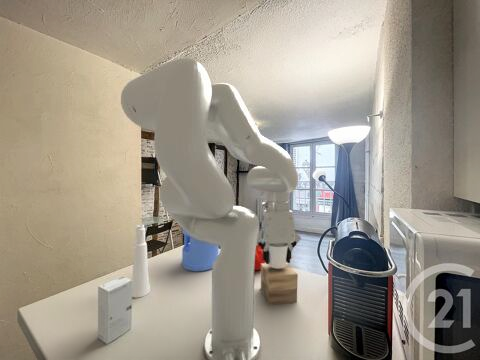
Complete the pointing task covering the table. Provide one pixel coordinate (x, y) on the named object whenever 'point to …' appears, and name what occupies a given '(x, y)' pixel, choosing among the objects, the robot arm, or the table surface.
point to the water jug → (197, 254)
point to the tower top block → (279, 277)
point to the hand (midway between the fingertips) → (276, 261)
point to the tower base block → (279, 295)
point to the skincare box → (114, 309)
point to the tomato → (258, 258)
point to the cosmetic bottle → (140, 265)
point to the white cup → (277, 255)
